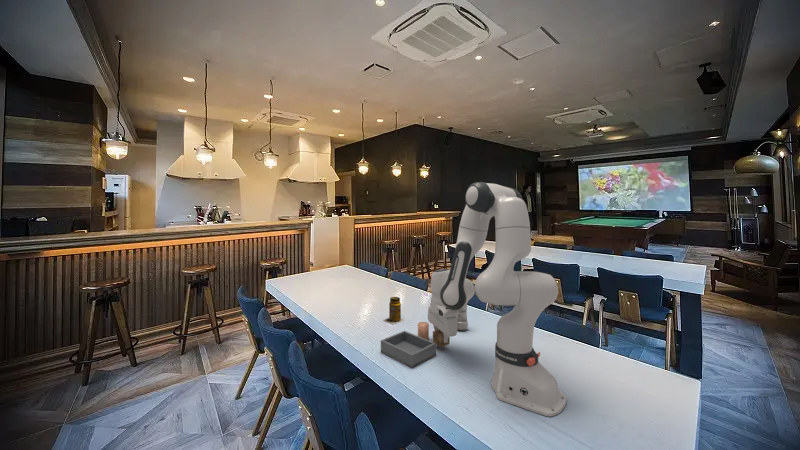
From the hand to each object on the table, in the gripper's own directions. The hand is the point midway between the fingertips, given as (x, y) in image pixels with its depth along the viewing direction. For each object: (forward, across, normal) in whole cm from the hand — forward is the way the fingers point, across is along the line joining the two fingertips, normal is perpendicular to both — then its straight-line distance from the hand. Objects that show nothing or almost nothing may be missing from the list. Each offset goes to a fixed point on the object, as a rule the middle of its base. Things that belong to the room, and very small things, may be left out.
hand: (441, 338), depth 131 cm
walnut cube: (+2, 0, 0) cm, 2 cm away
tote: (+4, 0, -15) cm, 16 cm away
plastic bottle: (+4, -14, +18) cm, 23 cm away
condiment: (+4, -37, -9) cm, 38 cm away
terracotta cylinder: (+4, -11, -4) cm, 12 cm away
